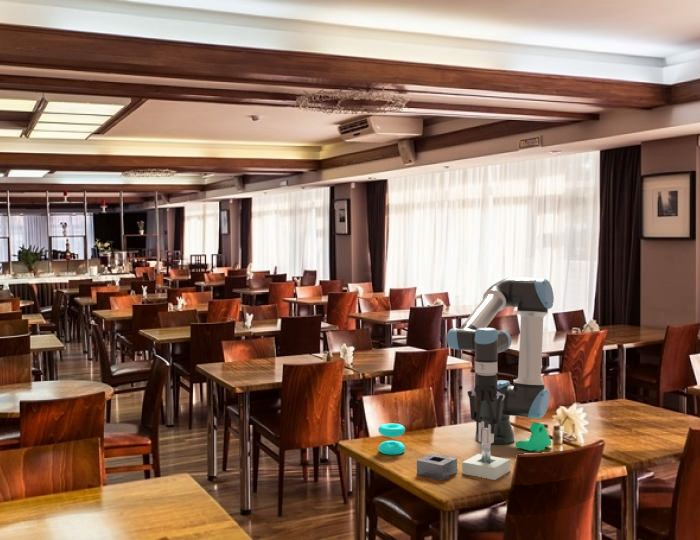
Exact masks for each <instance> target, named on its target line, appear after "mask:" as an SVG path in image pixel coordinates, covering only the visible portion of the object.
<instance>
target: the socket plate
mask: <svg viewBox="0 0 700 540" xmlns="http://www.w3.org/2000/svg"><path fill="white" fill-rule="evenodd" d="M461 463H462V464H461V465H462V466H461V467H462V469H461V472H462V474H463V475H467V476H472V477H476V476H477V477H478V478H481V477H482V478H483V479H486V478H487V480H493V481H496V480H498V479H499V478H501V477H502V476H504V475H506V474H507V473H509V472H510V471H511V459H510V458H504V457H498V456H493V455H491V463H490V464H488V463H483V462H482V453H477V454H475V455H473V456H471V457H470V458H468V459H466V460H464V461H462V462H461Z"/></svg>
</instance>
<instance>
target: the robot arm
mask: <svg viewBox="0 0 700 540" xmlns="http://www.w3.org/2000/svg"><path fill="white" fill-rule="evenodd" d="M554 299H555V298H554V290H553V287H552V284H551V283H550V280H549V279H547V278H541V277H540V278H538V277H507V278H503V279H501V280H499V281H497V282H496V283H494V284H492V285H491V286H490V287H489V288H488V289H487V290H486V291H485V292H484V293H483V295H482V300H480V303H479V304H477V306H476V308H475V309H474V310H473V311H472V312H471V314H470V315H469V316H468V318H467V319H466V320H465V321H464V322H463V323H462V324H461V326H460V327H459V328H457V327H456V328H450V329H449V330H448V332H447V335H446V343H447V346H448V347H449V348H450V349H452V350H457V351H473V352H475V353H474V355H475V356H474V357H475V359H474V363H475V365H474V372H475V375H474V384H475V386H474V387H473V388H474V389H471V390H468V391H467V396H468V398H469V409H470V410H469V411H470V419H471V420H472V421H474V422H475V424H476V425H475V427H476V428H475V430H476V431H475V440H476V441H478V442H479V443H482V428H488V443H489V444H491V445H505V444H511V443H513V442H514V441H515V434H514V430H513V427H512V424H511V417H510V416H512V417H521V418H528V419H538V420H540V419H542V418H543V417H544V416H545V415H546V412H547V410H548V407H549V403H550V391H549V390H548V388H545V383H544V381H543V380H542V361H543V359H542V358H543V355H542V354H543V336H544V333H543V332H544V318H545V317H546V316H547V315H548V311H549V309H552V308H553V306H554ZM510 307H511V308H512V307H513V308H517V310H516V311H517V314H519V316H520V330H519V332H520V333H519V353H518V375H517V376H518V377H517V378H516V379H515V380H514V381H513V385H511V382H510V381H509V380H503V379H502V380H501V379H500V380H498V374H497V373H499V372H498V371H499V370H498V354H499V353H503V352H506V350H508V349H510V347H511V346H512V337H511V335H510V334H509V332H507V331H505V330H503V329H497V328H494V327H488V326H489V325H490V323H491V322H492V321H493V320H494V318H495V317H496V316H497V314H498V312H501V311H503V310H504V309H505V308H510ZM476 396H477V397H476Z"/></svg>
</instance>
